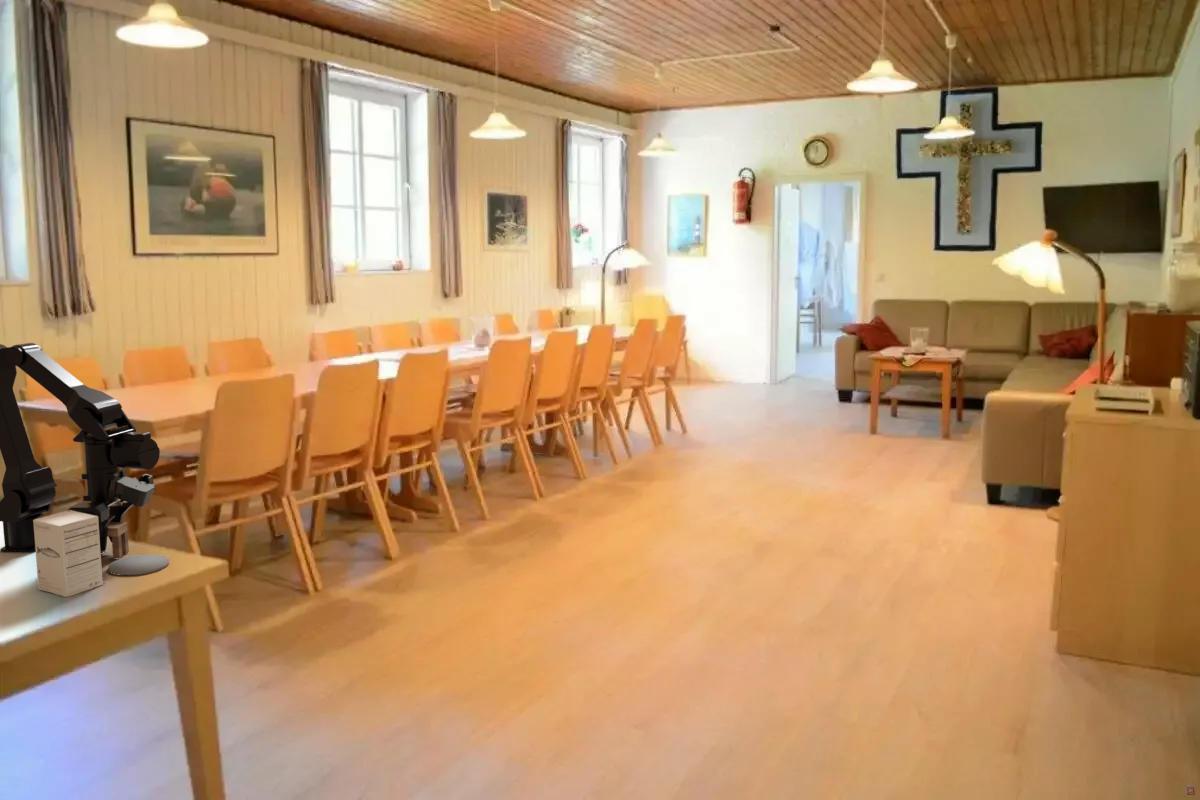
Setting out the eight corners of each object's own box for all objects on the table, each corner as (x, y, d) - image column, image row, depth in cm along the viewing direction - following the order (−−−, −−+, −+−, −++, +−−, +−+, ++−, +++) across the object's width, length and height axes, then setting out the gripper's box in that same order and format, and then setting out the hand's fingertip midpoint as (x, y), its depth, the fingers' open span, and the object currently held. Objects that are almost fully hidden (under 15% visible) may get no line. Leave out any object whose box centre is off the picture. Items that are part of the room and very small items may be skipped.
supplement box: (37, 590, 171) (31, 519, 169) (77, 577, 177) (71, 508, 175) (64, 598, 167) (58, 525, 165) (104, 585, 174) (99, 514, 172)
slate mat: (98, 575, 178) (98, 572, 178) (123, 557, 188) (122, 554, 188) (155, 575, 179) (155, 572, 179) (177, 557, 189) (177, 554, 188)
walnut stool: (89, 559, 187) (86, 528, 186) (99, 552, 191) (96, 521, 190) (119, 559, 187) (117, 528, 186) (128, 552, 191) (126, 522, 190)
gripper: (125, 478, 177) (130, 563, 180) (166, 454, 196) (171, 531, 198) (61, 478, 177) (67, 562, 179) (108, 454, 195) (113, 531, 198)
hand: (108, 546), depth 189 cm, fingers open, 5 cm apart
